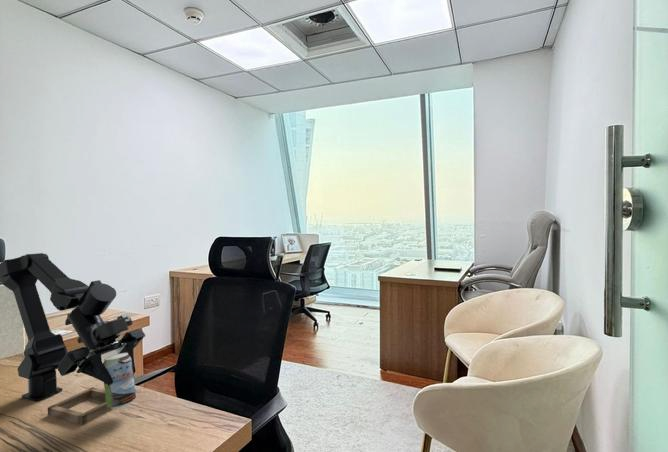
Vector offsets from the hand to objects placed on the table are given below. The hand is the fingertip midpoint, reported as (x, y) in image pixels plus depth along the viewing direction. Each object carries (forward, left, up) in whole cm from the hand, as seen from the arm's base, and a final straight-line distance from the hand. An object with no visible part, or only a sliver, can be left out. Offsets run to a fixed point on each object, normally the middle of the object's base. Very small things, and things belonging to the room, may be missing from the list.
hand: (123, 378), depth 83 cm
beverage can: (-1, 0, -7) cm, 7 cm away
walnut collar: (-12, 0, -10) cm, 16 cm away
